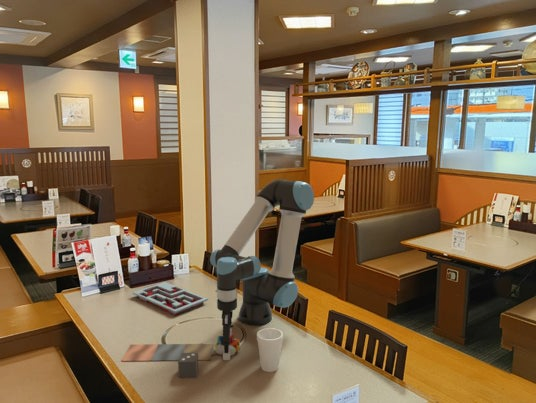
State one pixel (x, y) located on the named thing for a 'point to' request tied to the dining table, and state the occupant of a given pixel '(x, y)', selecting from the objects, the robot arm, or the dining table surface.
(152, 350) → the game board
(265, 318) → the robot arm
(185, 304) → the maze game
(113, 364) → the dining table surface
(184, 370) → the die
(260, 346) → the foam cup
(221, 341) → the multicoloured rounded cluster
